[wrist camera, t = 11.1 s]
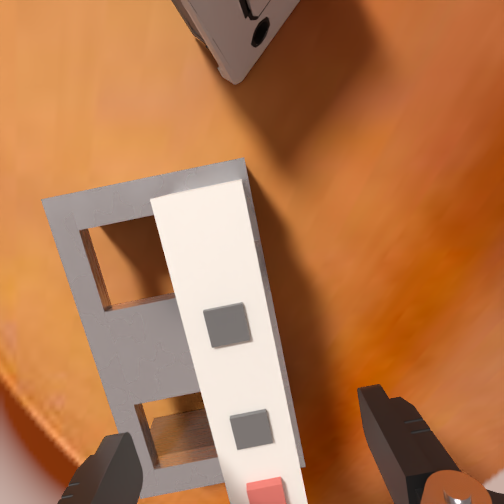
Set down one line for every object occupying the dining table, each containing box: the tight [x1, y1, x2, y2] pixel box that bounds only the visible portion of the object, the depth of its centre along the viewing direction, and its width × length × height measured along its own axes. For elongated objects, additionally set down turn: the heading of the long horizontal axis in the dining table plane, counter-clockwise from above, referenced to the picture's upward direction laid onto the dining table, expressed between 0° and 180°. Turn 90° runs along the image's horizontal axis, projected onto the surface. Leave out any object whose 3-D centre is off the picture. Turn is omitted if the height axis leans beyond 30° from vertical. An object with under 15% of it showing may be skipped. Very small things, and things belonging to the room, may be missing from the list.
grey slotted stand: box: [41, 158, 306, 499], centre depth 21 cm, size 10×18×5 cm, turn 11°
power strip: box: [150, 179, 308, 504], centre depth 18 cm, size 16×4×8 cm, turn 11°
